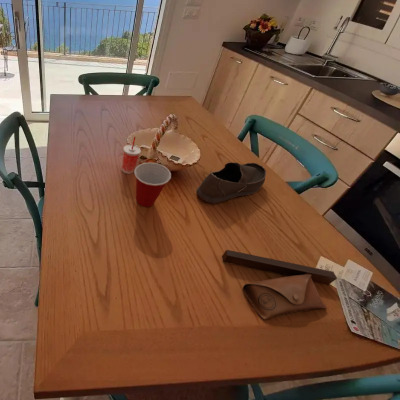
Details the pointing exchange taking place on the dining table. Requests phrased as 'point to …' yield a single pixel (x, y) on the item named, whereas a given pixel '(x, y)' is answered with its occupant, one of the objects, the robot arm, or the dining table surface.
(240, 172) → the loafer
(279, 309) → the sunglasses case
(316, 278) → the rail
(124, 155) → the beverage cup
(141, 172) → the plastic cup
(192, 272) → the dining table surface
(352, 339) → the dining table surface
